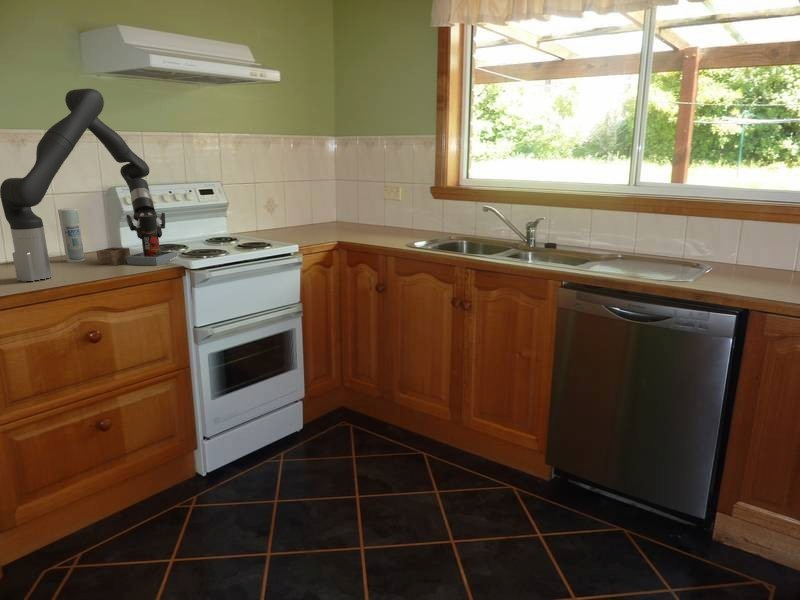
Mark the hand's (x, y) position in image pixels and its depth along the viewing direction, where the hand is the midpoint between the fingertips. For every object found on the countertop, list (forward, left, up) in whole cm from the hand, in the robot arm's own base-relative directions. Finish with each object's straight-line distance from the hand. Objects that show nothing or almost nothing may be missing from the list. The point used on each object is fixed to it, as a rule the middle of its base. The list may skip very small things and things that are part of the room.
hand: (150, 237), depth 220 cm
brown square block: (-3, +15, -10) cm, 18 cm away
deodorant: (+1, +1, -7) cm, 8 cm away
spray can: (-3, +33, -10) cm, 35 cm away
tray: (+1, +1, -10) cm, 10 cm away
